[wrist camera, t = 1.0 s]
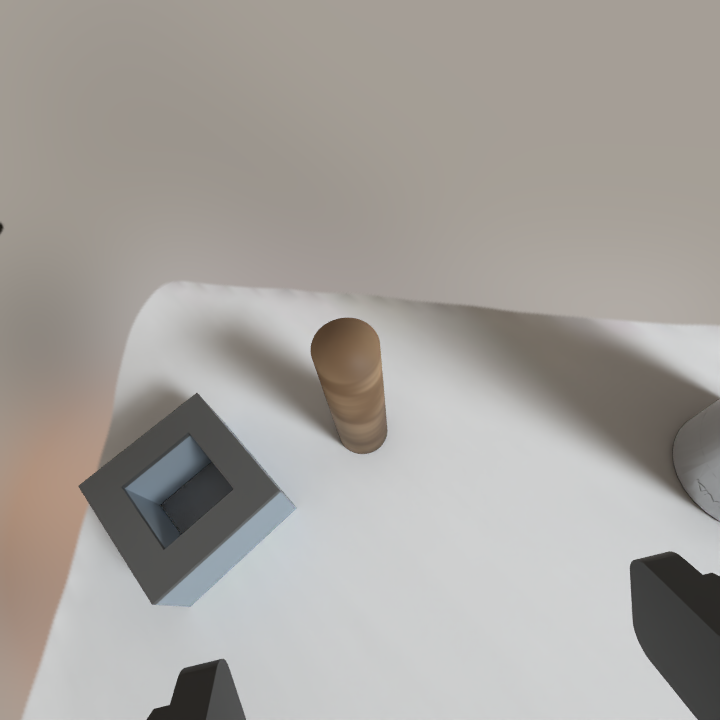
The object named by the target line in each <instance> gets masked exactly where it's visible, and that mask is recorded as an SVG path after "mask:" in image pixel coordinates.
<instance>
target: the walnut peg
mask: <svg viewBox="0 0 720 720" xmlns="http://www.w3.org/2000/svg"><path fill="white" fill-rule="evenodd" d="M311 356H312V360H313V362H314V365H315V368H316V371H317V374H318V377H319V380H320V382H321V385H322V388H323V391H324V394H325V397H326V399H327V402H328V405H329V408H330V411H331V414H332V417H333V419H334V422H335V425H336V428H337V431H338V434H339V437H340V439H341V442H342V443H343V445H344V446H345V447H346V448H347V449H348V450H350V451H352V452H354V453H358V454H367V453H371V452H373V451H375V450H377V449H378V448H379V447H381V445H382V444H383V443H384V441H385V439H386V436H387V421H386V409H385V397H384V386H383V374H382V362H381V351H380V341H379V338H378V335H377V333H376V332H375V330H374V329H373V328H372V327H371V326H370V325H369V324H367V323H366V322H364V321H362V320H359V319H355V318H340V319H336V320H333V321H330V322H329V323H327V324H325V325H324V326H322V327H321V328H320V329H319V330H318V332H317V333H316V334H315V336H314V338H313V340H312V343H311Z"/></svg>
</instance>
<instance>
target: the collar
mask: <svg viewBox="0 0 720 720" xmlns="http://www.w3.org/2000/svg"><path fill="white" fill-rule="evenodd" d="M210 462H213V464H214V465H215V466H216V467H217V469H218V470H219V471H220V472H221V474H222V475H223V476H224V477H225V479H226V480H227V481H228V483H229V484H230V485H231V486H232V488H233V490H232V491H231V492H230V493H229V494H227V495H226V496H225V497H224V498H223V499H222V500H221V501H219V502H218V503H217V504H216V505H215V506H214V507H213V508H211V509H210V510H209V511H208V512H207V513H206V514H204V515H203V516H202V517H201V518H200V519H199V520H198V521H196V522H195V523H194V524H193V525H192V526H191V527H190V528H188V529H187V530H186V531H185V532H184V533H183V534H182V535H181V534H180V533H179V532H178V530H177V529H176V527H175V526H174V524H173V523H172V522H171V520H170V519H169V517H168V516H167V514H166V513H165V512H164V510H163V509H162V507H161V506H160V504H162V503H163V502H164V501H165V500H166V499H168V498H169V497H170V496H171V495H172V494H174V493H175V492H176V491H177V490H178V489H179V488H181V487H182V486H183V485H184V484H185V483H187V482H188V481H189V480H190V479H191V478H193V477H194V476H195V475H196V474H197V473H198V472H200V471H201V470H202V469H203V468H204V467H206V466H207V465H208V464H209V463H210ZM79 488H80V490H81V491H82V493H83V494H84V496H85V497H86V499H87V501H88V502H89V504H90V506H91V507H92V509H93V510H94V512H95V514H96V515H97V517H98V518H99V520H100V522H101V523H102V525H103V526H104V528H105V530H106V531H107V533H108V535H109V536H110V538H111V539H112V541H113V543H114V544H115V546H116V547H117V549H118V551H119V552H120V554H121V555H122V557H123V559H124V560H125V562H126V563H127V565H128V567H129V568H130V570H131V571H132V573H133V575H134V576H135V578H136V579H137V581H138V583H139V584H140V586H141V587H142V589H143V591H144V592H145V594H146V596H147V597H148V599H149V600H150V602H151V604H152V605H169V606H186V607H190V606H191V605H193V604H194V603H195V602H196V601H197V600H198V599H199V598H200V597H201V596H202V595H203V594H204V593H205V592H207V591H208V590H209V589H210V588H211V587H212V586H213V585H214V584H215V583H216V582H217V581H218V580H219V579H221V578H222V577H223V576H224V575H225V574H226V573H227V572H228V571H229V570H230V569H231V568H232V567H234V566H235V565H236V564H237V563H238V562H239V561H240V560H241V559H242V558H243V557H244V556H245V555H246V554H248V553H249V552H250V551H251V550H252V549H253V548H254V547H255V546H256V545H257V544H258V543H259V542H260V541H262V540H263V539H264V538H265V537H266V536H267V535H268V534H269V533H270V532H271V531H272V530H273V529H275V528H276V527H277V526H278V525H279V524H280V523H281V522H282V521H283V520H284V519H285V518H286V517H287V516H289V515H290V514H291V513H292V512H293V511H294V510H295V509H296V507H295V506H294V504H293V503H292V502H291V501H290V500H289V498H288V497H287V496H286V495H285V494H284V493H283V491H282V490H281V489H280V488H279V487H278V485H277V484H276V483H275V482H274V481H273V480H272V478H271V477H270V476H269V475H268V474H267V472H266V471H265V470H264V469H263V468H262V467H261V465H260V464H259V463H258V462H257V461H256V459H255V458H254V457H253V456H252V455H251V454H250V452H249V451H248V450H247V449H246V448H245V446H244V445H243V444H242V443H241V442H240V441H239V439H238V438H237V437H236V436H235V435H234V433H233V432H232V431H231V430H230V429H229V428H228V426H227V425H226V424H225V423H224V422H223V421H222V419H221V418H220V417H219V416H218V415H217V414H216V413H215V412H214V411H213V410H212V408H211V407H210V406H209V405H208V404H207V403H206V402H205V401H204V400H203V399H202V398H201V396H200V395H199V394H198V393H196V394H195V395H193V396H192V397H191V398H190V399H188V400H187V401H186V402H185V403H183V404H182V405H181V406H179V407H178V408H177V409H176V410H174V411H173V412H172V413H171V414H169V415H168V416H167V417H165V418H164V419H163V420H162V421H160V422H159V423H158V424H157V425H155V426H154V427H153V428H151V429H150V430H149V431H148V432H146V433H145V434H144V435H143V436H141V437H140V438H139V439H138V440H136V441H135V442H134V443H132V444H131V445H130V446H129V447H127V448H126V449H125V450H124V451H122V452H121V453H120V454H118V455H117V456H116V457H115V458H113V459H112V460H111V461H110V462H108V463H107V464H106V465H104V466H103V467H102V468H101V469H99V470H98V471H97V472H96V473H94V474H93V475H92V476H90V477H89V478H88V479H87V480H85V481H84V482H83V483H82V484H80V485H79Z"/></svg>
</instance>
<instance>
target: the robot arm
mask: <svg viewBox="0 0 720 720" xmlns="http://www.w3.org/2000/svg"><path fill="white" fill-rule="evenodd" d="M673 460H674V466H675V469H676V472H677V475H678V478H679V480H680V482H681V483H682V485H683V487H684V489H685V490H686V492H687V493H688V494H689V495H690V497H691V498H692V499H693V500H694V502H695V503H697V504H698V505H699V506H700V507H701V508H702V509H703V510H704V511H705V512H706V513H708V514H709V515H711V516H713V517H714V518H716V519H717V520H719V521H720V399H719V400H717V401H716V402H714V403H713V404H712V405H710V406H709V407H707V408H706V409H705V410H703V411H702V412H700V413H699V414H697V415H696V416H695V417H693V418H692V419H690V420H689V421H688V422H686V423H685V424H684V425H683V427H682V428H681V429H680V430H679V432H678V434H677V436H676V438H675V441H674V447H673ZM630 580H631V598H632V616H633V626H634V630H635V633H636V636H637V639H638V641H639V643H640V645H641V647H642V649H643V651H644V653H645V654H646V656H647V657H648V659H649V660H650V661H651V662H652V664H653V665H654V666H655V667H656V669H657V670H658V671H659V672H660V674H661V675H662V676H663V677H664V679H665V680H666V681H667V682H668V683H669V685H670V686H671V687H672V688H673V690H674V691H675V692H676V693H677V695H678V696H679V697H680V698H681V700H682V701H683V702H684V703H685V704H686V706H687V707H688V708H689V709H690V711H691V712H692V713H693V714H694V716H695V717H696V718H697V719H698V720H720V576H718V575H716V574H714V573H709V574H705V575H702V574H701V573H700V572H699V571H697V570H696V569H695V568H694V567H693V566H692V565H690V564H689V563H688V562H687V561H686V560H685V559H683V558H682V557H681V556H680V555H678V554H677V553H675V552H665V553H661V554H657V555H653V556H649V557H645V558H641V559H637V560H633V561H632V562H631V565H630ZM147 720H246V718H245V715H244V712H243V709H242V706H241V703H240V700H239V697H238V694H237V691H236V688H235V684H234V681H233V678H232V675H231V672H230V669H229V667H228V664H227V662H226V661H225V660H224V659H220V660H216V661H211V662H207V663H203V664H199V665H195V666H191V667H187V668H184V669H182V671H181V672H180V674H179V676H178V679H177V683H176V686H175V689H174V693H173V696H172V700H171V703H170V705H168V706H164V707H160V708H156V709H154V710H153V711H152V713H151V714H150V715H149V717H148V718H147Z"/></svg>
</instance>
